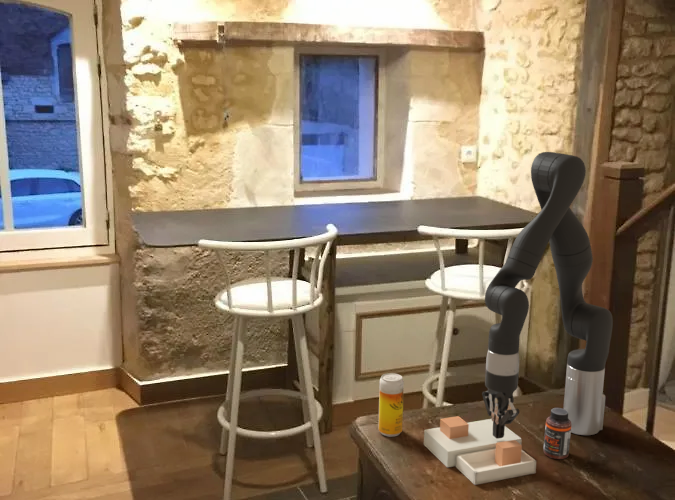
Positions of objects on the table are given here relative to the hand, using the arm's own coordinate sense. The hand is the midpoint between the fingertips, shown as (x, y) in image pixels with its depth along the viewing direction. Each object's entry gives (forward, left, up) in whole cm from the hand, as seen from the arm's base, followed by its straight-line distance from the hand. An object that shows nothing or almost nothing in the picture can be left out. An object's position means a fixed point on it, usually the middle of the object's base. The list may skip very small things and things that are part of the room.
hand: (498, 436), depth 179 cm
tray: (+4, +6, -5) cm, 9 cm away
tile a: (0, +4, -2) cm, 4 cm away
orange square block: (+8, -7, -1) cm, 11 cm away
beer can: (+19, -20, -5) cm, 28 cm away
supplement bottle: (-14, +4, -5) cm, 15 cm away
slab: (+4, -5, -5) cm, 8 cm away
